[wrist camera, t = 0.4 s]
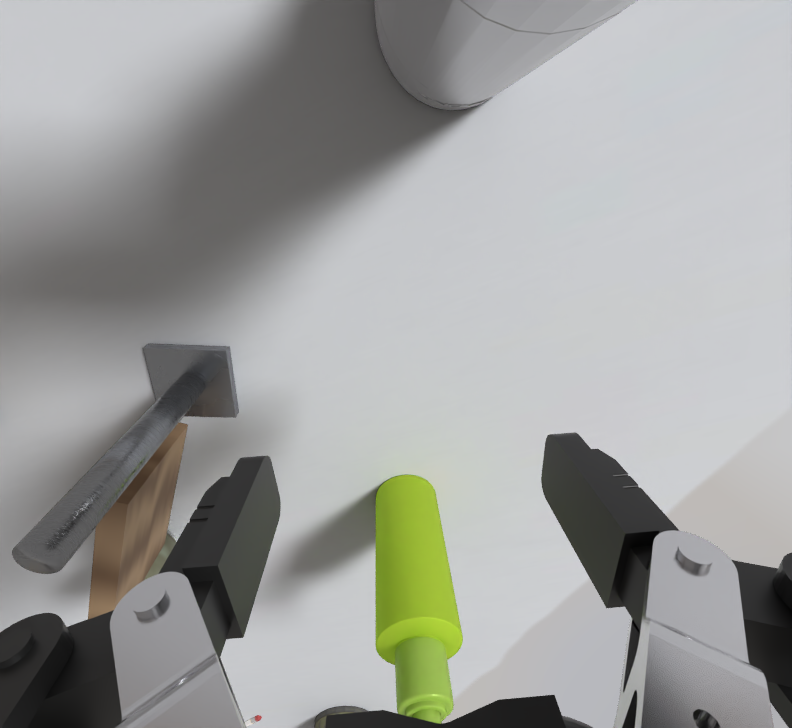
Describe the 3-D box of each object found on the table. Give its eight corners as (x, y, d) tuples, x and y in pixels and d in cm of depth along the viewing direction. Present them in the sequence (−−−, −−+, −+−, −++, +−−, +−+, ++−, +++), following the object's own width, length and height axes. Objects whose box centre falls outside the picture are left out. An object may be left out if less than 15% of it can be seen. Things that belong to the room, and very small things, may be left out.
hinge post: (148, 343, 29) (-71, 506, 15) (229, 346, 30) (92, 507, 15) (164, 410, 32) (-9, 603, 17) (238, 411, 32) (129, 601, 18)
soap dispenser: (388, 531, 39) (399, 828, 22) (367, 483, 36) (360, 781, 18) (443, 518, 39) (502, 810, 21) (427, 468, 36) (479, 759, 18)
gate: (161, 408, 30) (42, 539, 19) (203, 420, 31) (111, 552, 20) (139, 550, 37) (41, 705, 26) (174, 557, 37) (93, 711, 27)
